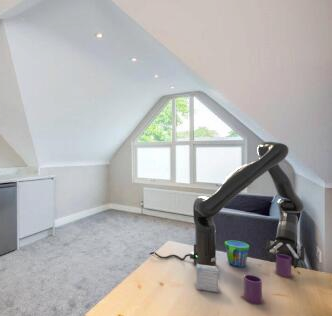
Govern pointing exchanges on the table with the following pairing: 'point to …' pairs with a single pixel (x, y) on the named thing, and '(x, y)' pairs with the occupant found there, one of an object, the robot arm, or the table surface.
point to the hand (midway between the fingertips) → (282, 264)
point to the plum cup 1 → (253, 289)
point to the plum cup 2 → (283, 265)
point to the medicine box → (207, 277)
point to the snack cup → (237, 252)
